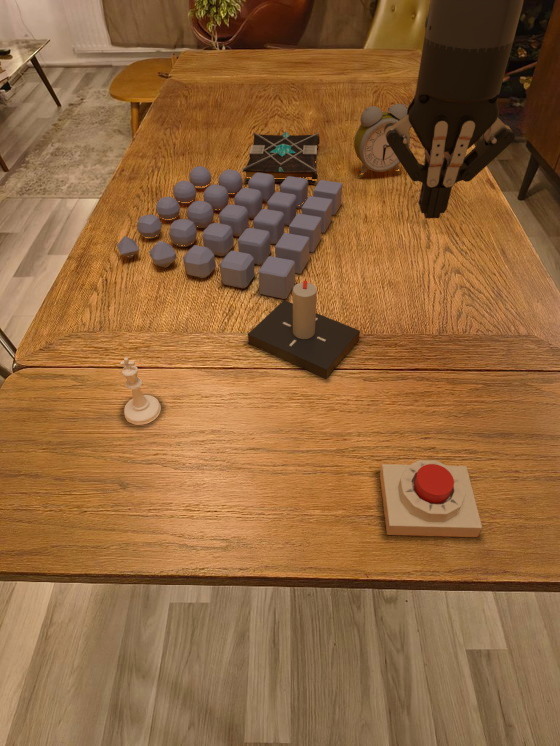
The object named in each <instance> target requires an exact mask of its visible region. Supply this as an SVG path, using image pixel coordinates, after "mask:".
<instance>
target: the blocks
mask: <svg viewBox="0 0 560 746" xmlns="http://www.w3.org/2000/svg"><path fill="white" fill-rule="evenodd" d="M188 178H189V181H188V180H180V181H178V182H176V184H175V185H174V187H173V189H172V190H173V192H172V194H173V197H171V196H169V195H168V196H164V197H161V198H160V199H159V200H157V202H156V204H155V206H156V207H155V212H156V214H157V216H156V215H155V214H154V213H152V214H151V213H150V214H145V215H142V216H140V217H139V218H138V221H137V227H136V229H137V232H138V233H139V235H140V234H141V235H143V236H145V237H155V236H156V235H158V234H160V235H161V232H162V226H163V223H162V222H161V220H163V221H165V222H172V221H173V222H172V223H171V224H170V227H169V239H170V240H171V243H172V244H174V245H176V246H177V247H180V248H186V247H190V246H191V248H190V249H189V250H188V251H187V252H186V253H185V254H184V255H183V256H182V261H183V266H184V271H186V273H187V275H189V276H192V277H195V278H201V279H206V278H207V277H208V276H209V275H211V274H212V272H213V271H214V270H215V269H216V258H215V256H218V257H223V259H222V260H221V262H220V263H219V271H220V280H221V282H222V284H223V285H224V286H229V287H233V288H238V289H243V290H244V289H245V288H246V287H248V286H249V284H250V283H251V282H252V280H253V279H254V277H255V276H256V272H255V265H259V266H260V268H259V269H258V273H257V275H258V289H259V294H260V295H263V296H267V297H273V298H277V299H281V300H282V299H283V300H287V298H288V297H289V295H290V293H291V292H292V291H293V287H294V286H295V285H296V274H299V275H301V274H302V273H303V271H304V269H305V268H306V266H307V264H308V262H309V260H310V253H314V252H315V250H316V249H317V247H318V246H319V243H320V241H321V240H322V238H321V237H322V234H325V233H326V231H327V230H328V228H329V226H330V225H331V223H332V219H333V218H332V216H336V215H337V213H338V210H339V209H340V207H341V205H342V197H343V183H342V182H338V181H330V180H324V179H319V181H318V182H317V185H315V187H314V188H313V190H312V195H308V194H309V193H308V192H309V183H308V180H307V179H305V178H298V177H291V176H288V177H286V179H285V180H284V181H283V182H281V183H280V185H279V191H276V183H275V180H274V177H273V176H272V175H271V174H265V173H255V174H254V175H253V176H252V177H251V179H250V180H249V182H247V185H248V187H243V177H242V174H241V173H240V172H239V171H238V170H236V169H235V170H234V169H225V170H223V171H222V172H221V173H220V175H219V176H218V184H211V183H210V182H212V175H211V172H210V170H209V168H206V166H202V165H198V166H195V167H193V168H192V169H191V170H190V172H189V177H188ZM208 184H210V185H209V186H207V187H205V188H195V186H201V187H202V186H206V185H208ZM197 190H204V192H203V200H196V197H197ZM237 192H238V193H237ZM228 193H235V194H228ZM229 196H234V200H233V201H234V204H232V203H231V204H229V199H230V197H229ZM307 196H308V197H307ZM305 199H306V200H305ZM192 200H194V201H192ZM178 201H180V202H190V201H192V202H190V203H180V202H178ZM303 202H304V203H303ZM263 203H266V206H267V207H266V208H263ZM302 203H303V204H302ZM180 204H181V205H185V206H187V205H189V206H188V207H187V209H186V210H187V212H186V216H187V218H181V219H177V218H178V217H179V215H180V213H181V205H180ZM301 204H302V205H301ZM298 205H300V206H298ZM338 205H339V206H338ZM337 207H338V208H337ZM215 209H217V210H215ZM219 209H220V210H219ZM297 209H298V210H299V209H300V210H301V213H297ZM215 212H219V215H218V219H219V220H218V221H219V222H214V217H215V215H214V213H215ZM158 215H159V216H158ZM177 216H178V217H177ZM160 217H161V218H160ZM175 217H176V218H175ZM162 218H164V219H172V218H175V219H172V220H164V219H162ZM160 219H161V220H160ZM250 219H253V220H252V225H253V227H249V225H250V221H249V220H250ZM197 226H198V227H197ZM285 226H286V227H287V226H288V232H285ZM197 229H204V230H203V233H202V244H203V246H202V245H197V244H195V245H193V244H194V243H195V242H196V239H197V236H198V235H197V233H198V231H197ZM160 231H161V232H160ZM141 235H140V236H141ZM160 235H158V236H156V237H155V238H158V237H160ZM143 236H142V237H143ZM145 237H143V238H144V239H146V240H150V239H151V238H145ZM234 237H238V239H237V249H238V251H236V250H233V246H234V242H235V241H234ZM191 243H192V244H191ZM177 244H178V245H177ZM181 245H183V246H181ZM184 245H185V246H184ZM192 245H193V246H192ZM271 245H275V246H274V255H275V256H271V255H270V254H271V251H272V249H271ZM116 248H117V249H118V252H119V254H120V255H121V256H123V257H125V258H126V259H127V258H128V259H130V260H132V259H133V257H134V256H135V255H137V253H138V252H139V251H140V248H139V246H138V243H137V242H136V240H134V239H132V238H130V237H128V236H126V235H124V236H123V237H122V238H121V239H120V240H119V242H118V243H117V244H116ZM148 253H149V257H150V258H151V261H152V262H153V265H156V266H158V267H161V268H163V269H167V268H168V267H169V266H171V265H172V264H173V263H174V262H175V260H176V259H177V253H176V251H175V249H174V248H173V246H172V245H171V244H169V243H167V242H165V241H162V240H158V242H156V244H154V246H152V248H151V249H150V250H149V251H148ZM131 255H133V256H131ZM127 256H129V257H127Z"/></svg>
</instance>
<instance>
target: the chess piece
mask: <svg viewBox="0 0 560 746" xmlns="http://www.w3.org/2000/svg"><path fill="white" fill-rule="evenodd" d="M119 365H120V367H123V368H121V375H122V376H123V377H124V378H125V379H126V380H125V387H126V389H128V390H131V393H132V398H131V399H129V400H128V401H127V402H126V404H125V406H124V408H123V413H124V418H125V419H126V420H125V421H127V422H129V423H130V424H132V425H137V426H142V425H146V424H150V423H152V422H153V421H155V420H156V419H157V418H158V417H159V416H160V414H161V412H162V411H161V409H162V407H161V406H162V405H161V404H160V402H159V400H158V398H156V397H155V396H153V395H150V394H143V391H142V390H141V387H142V385H143V380H142V379H141V378H140V377H139V376H138V373H139V368H138V366H136V363H135V361H133V360H129V357H124V358H123V360H120V363H119Z"/></svg>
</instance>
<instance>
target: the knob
mask: <svg viewBox="0 0 560 746" xmlns="http://www.w3.org/2000/svg"><path fill="white" fill-rule="evenodd" d="M317 295H318V289H317V286H316V285H315V284H314V283H311V282H308V280H302V282H299V283H295V285H294V286H293V288H292V303H293V334H294V336H296V337H297V338H299V339H309V338H311V337H312V336H314V334H315V321H316V313H317Z"/></svg>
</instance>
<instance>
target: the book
mask: <svg viewBox="0 0 560 746" xmlns="http://www.w3.org/2000/svg"><path fill="white" fill-rule="evenodd" d="M320 141H321V140H320V133H319V132H316V133H315V134H299V135H297V134H293V135H291V134H289V132H287V131H284V133H282V134H259V133H257V132H256V131H254V132H253V143H252V144H251V146H250V149H249V152H248V155H249V156H248V157H249V160H248V161H247V163H246V165H245V167H243V168H242V169H241V170H242V173H245V179H243V183H244V184H248V182H249V180H250V178H246V177H252V176H253V175H254V174H255V173H265V174H271V175H272V176H273V177H274V178H286V177H288V176H291V177H298V178H299V177H301V178H303V177H304V178H306V177H312V179H317V181H312V180H308V184H312V185H313V186H316V185H317V184H318V170H317V164H318V163H317V161H318V150H317V148H318V149H319V147H320ZM318 144H319V146H318ZM316 160H317V161H316ZM315 161H316V163H315ZM274 180H275V182H277V183H282V182H283V181H284V180H285V179H274Z"/></svg>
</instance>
